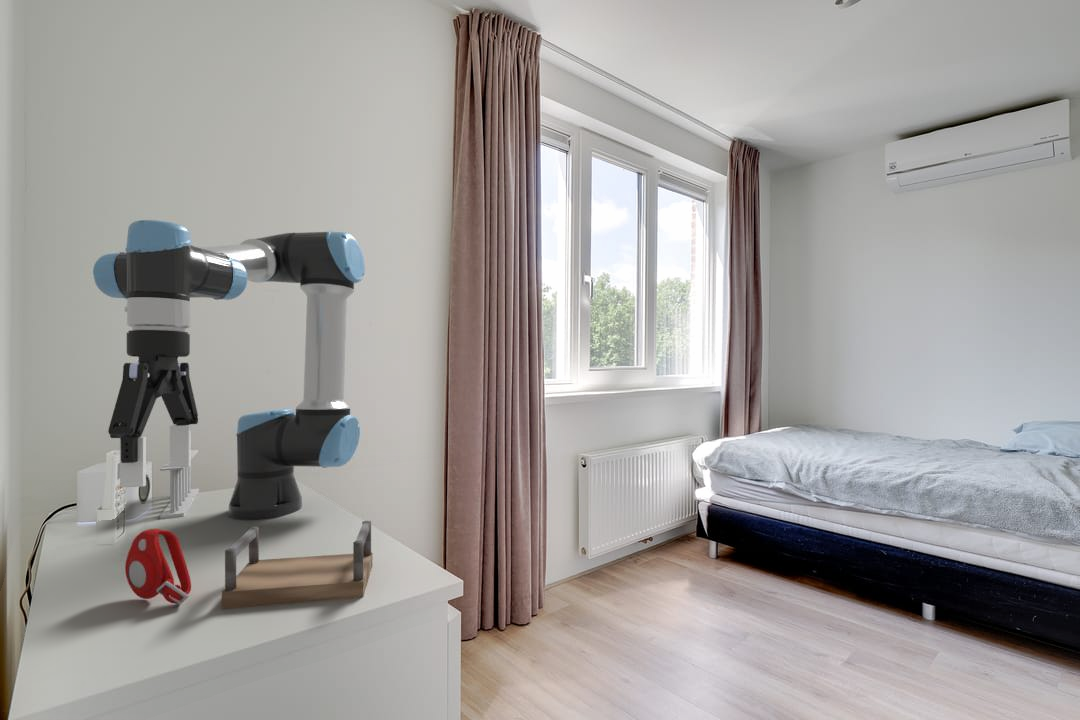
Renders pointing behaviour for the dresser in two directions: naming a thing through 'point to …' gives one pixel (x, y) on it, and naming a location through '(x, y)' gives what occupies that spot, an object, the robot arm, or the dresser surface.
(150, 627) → the dresser surface
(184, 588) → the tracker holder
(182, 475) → the test tube rack
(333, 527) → the dresser surface
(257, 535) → the wooden serving tray
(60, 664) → the dresser surface
